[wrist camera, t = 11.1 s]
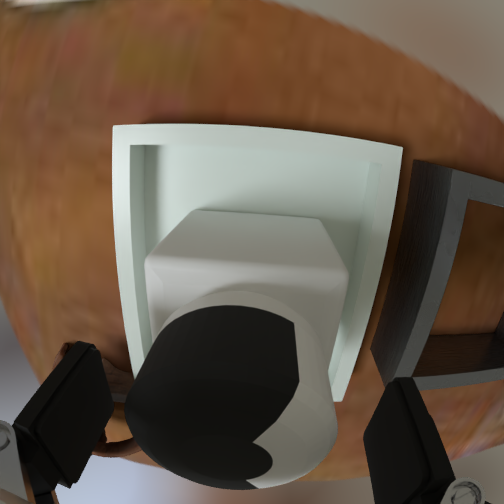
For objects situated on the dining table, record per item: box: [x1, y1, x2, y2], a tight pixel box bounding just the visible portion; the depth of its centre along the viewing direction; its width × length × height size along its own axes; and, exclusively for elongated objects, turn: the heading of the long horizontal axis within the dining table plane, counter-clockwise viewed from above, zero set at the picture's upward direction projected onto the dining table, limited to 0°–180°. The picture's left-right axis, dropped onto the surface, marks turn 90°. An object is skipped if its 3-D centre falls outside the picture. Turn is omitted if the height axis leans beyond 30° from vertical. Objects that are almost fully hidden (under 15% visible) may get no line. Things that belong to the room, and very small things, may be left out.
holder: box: [370, 160, 504, 390], centre depth 16 cm, size 13×13×4 cm
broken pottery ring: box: [53, 343, 142, 458], centre depth 22 cm, size 12×10×8 cm
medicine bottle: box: [124, 210, 349, 490], centre depth 13 cm, size 7×7×12 cm
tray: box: [112, 124, 403, 401], centre depth 18 cm, size 14×16×3 cm
